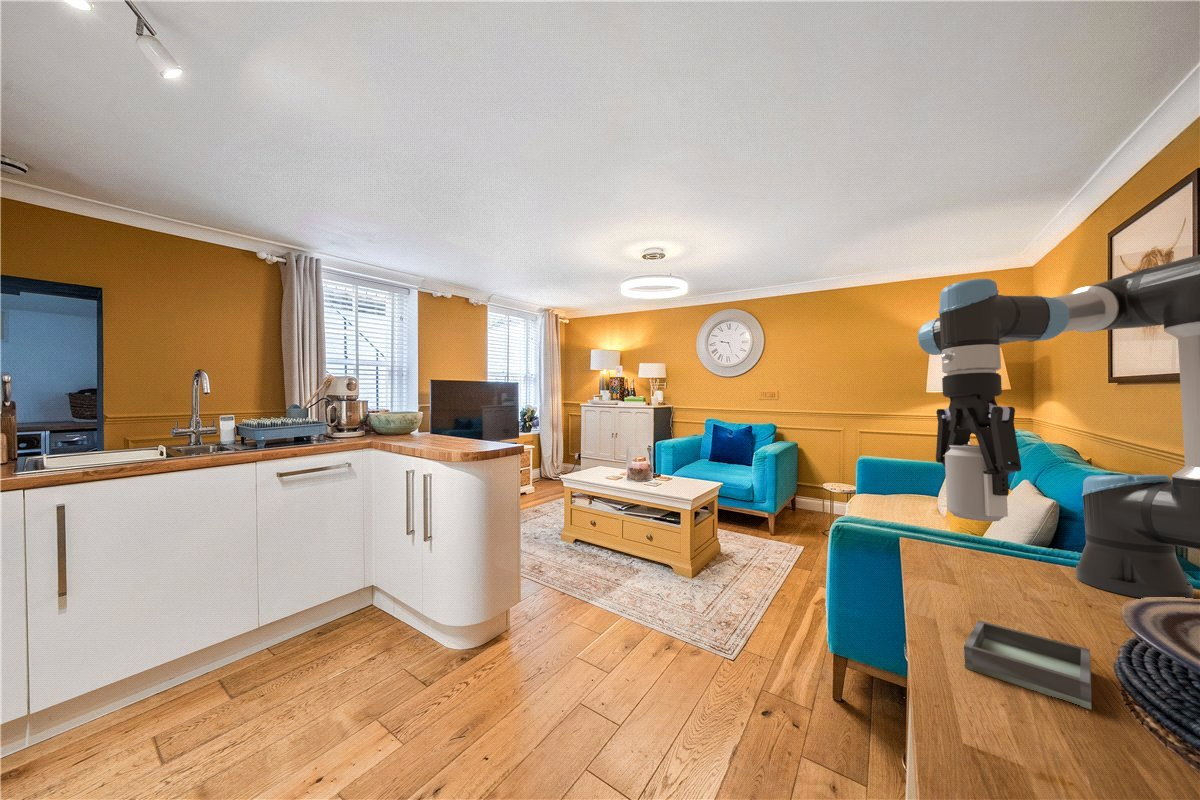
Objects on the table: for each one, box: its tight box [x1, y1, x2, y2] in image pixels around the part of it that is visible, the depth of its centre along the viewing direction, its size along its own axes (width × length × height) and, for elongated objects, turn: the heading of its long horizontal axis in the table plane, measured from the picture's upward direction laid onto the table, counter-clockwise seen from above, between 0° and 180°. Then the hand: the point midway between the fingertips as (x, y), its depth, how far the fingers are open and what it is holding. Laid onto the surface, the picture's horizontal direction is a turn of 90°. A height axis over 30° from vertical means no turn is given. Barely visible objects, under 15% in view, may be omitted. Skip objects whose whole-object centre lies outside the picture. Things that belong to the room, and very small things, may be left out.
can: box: [944, 443, 1005, 522], centre depth 71 cm, size 8×8×12 cm
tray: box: [963, 619, 1092, 711], centre depth 59 cm, size 12×12×3 cm
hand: (976, 510), depth 71 cm, fingers closed on can, 7 cm apart
